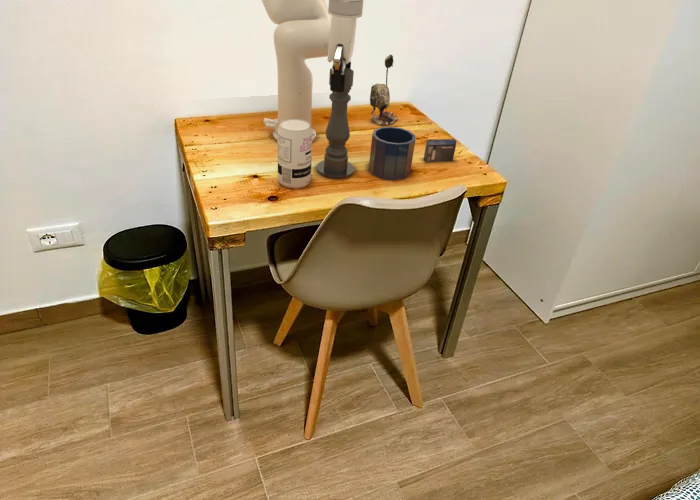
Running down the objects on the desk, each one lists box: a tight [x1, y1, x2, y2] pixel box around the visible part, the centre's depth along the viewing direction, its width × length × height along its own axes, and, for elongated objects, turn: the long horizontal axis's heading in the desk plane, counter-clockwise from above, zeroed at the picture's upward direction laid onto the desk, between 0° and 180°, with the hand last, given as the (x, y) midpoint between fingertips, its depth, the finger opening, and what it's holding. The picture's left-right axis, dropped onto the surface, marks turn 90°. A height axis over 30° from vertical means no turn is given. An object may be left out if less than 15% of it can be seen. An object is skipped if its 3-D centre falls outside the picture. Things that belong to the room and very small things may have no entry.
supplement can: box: [277, 119, 313, 189], centre depth 127 cm, size 8×8×15 cm
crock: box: [368, 126, 417, 181], centre depth 137 cm, size 11×11×10 cm
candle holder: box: [323, 67, 355, 173], centre depth 130 cm, size 6×6×25 cm
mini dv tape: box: [423, 138, 457, 163], centre depth 146 cm, size 8×2×6 cm, turn 103°
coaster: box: [315, 160, 356, 180], centre depth 138 cm, size 10×10×1 cm
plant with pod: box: [369, 54, 399, 126], centre depth 162 cm, size 8×11×20 cm
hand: (340, 84), depth 125 cm, fingers open, 9 cm apart
